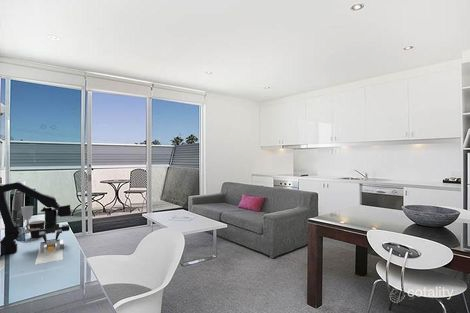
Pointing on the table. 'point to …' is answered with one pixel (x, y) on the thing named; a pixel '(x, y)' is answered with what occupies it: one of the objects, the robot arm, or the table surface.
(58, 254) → the mount plate
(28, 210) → the chalice
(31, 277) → the table surface
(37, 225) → the coffee mug
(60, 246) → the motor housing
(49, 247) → the plug
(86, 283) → the table surface
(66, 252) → the table surface
